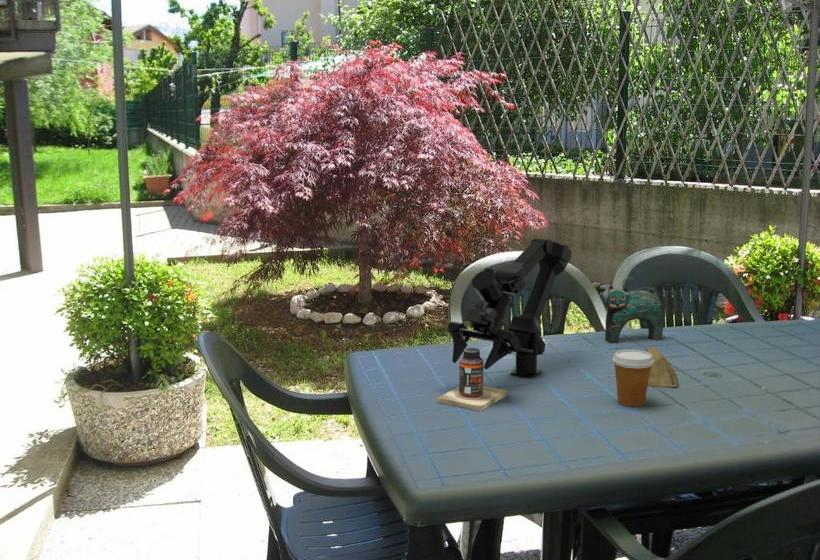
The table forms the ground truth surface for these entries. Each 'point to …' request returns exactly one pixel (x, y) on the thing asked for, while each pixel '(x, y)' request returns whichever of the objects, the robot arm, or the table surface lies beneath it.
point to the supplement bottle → (471, 373)
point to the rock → (661, 371)
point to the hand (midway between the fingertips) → (469, 365)
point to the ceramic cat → (632, 311)
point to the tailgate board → (473, 398)
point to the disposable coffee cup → (632, 376)
